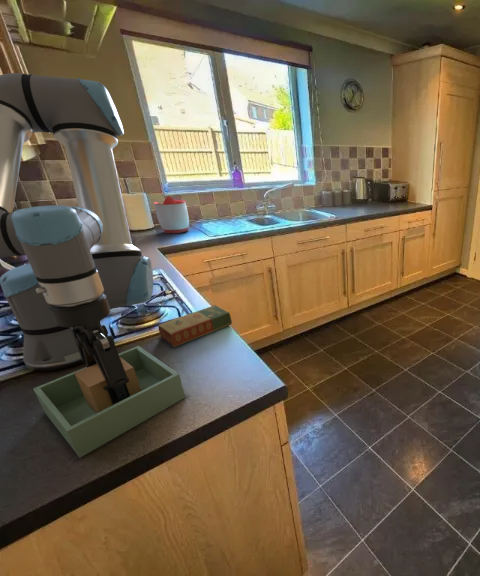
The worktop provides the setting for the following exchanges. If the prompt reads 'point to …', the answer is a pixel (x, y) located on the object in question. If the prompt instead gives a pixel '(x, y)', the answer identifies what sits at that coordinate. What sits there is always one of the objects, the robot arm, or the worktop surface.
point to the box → (94, 384)
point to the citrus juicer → (172, 215)
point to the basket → (117, 418)
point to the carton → (194, 325)
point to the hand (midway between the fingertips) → (116, 401)
